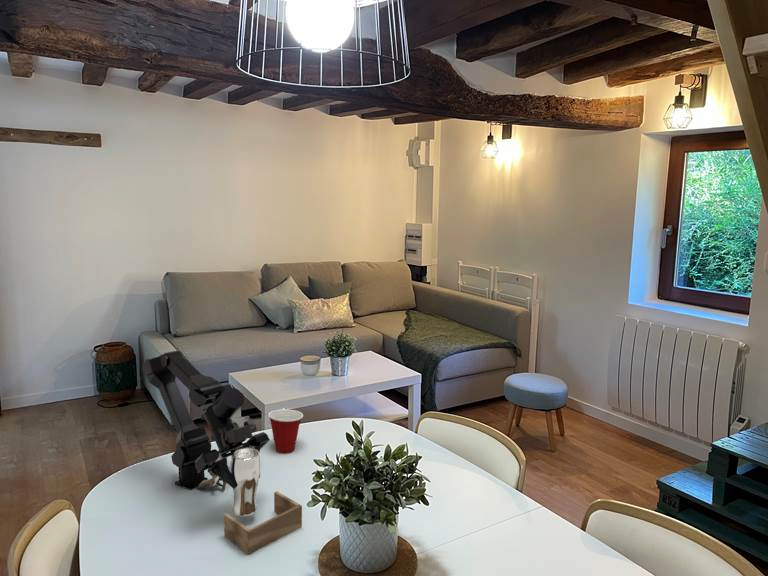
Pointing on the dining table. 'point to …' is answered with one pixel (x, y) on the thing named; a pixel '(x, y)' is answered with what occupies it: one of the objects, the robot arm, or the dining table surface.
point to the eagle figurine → (212, 482)
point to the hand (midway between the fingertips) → (247, 482)
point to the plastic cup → (285, 429)
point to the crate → (265, 525)
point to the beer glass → (245, 480)
